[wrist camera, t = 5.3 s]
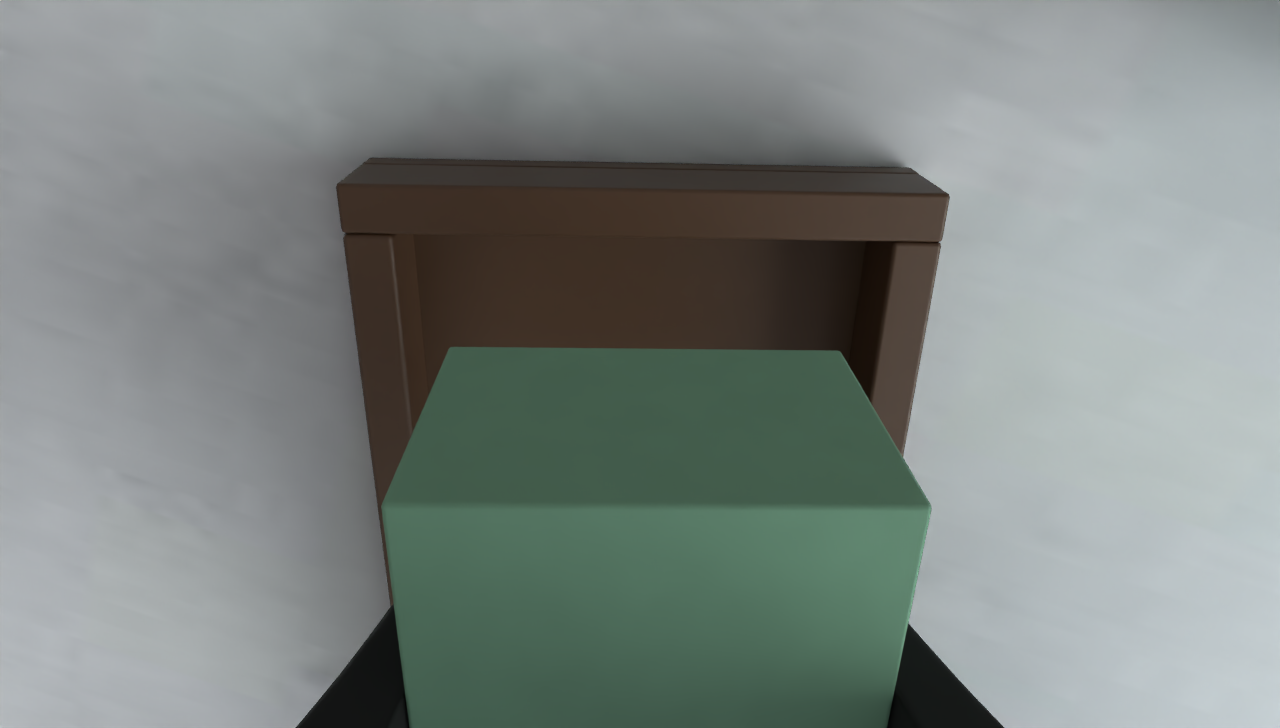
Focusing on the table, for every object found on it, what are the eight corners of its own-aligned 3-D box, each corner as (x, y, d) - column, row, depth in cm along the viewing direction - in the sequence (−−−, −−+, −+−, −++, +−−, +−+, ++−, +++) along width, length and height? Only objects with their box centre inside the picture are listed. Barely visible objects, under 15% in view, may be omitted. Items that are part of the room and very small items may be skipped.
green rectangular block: (785, 761, 14) (834, 993, 11) (481, 763, 14) (442, 1000, 11) (841, 349, 11) (934, 505, 8) (448, 344, 11) (378, 504, 8)
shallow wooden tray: (802, 854, 23) (818, 930, 21) (446, 858, 23) (431, 935, 21) (911, 167, 15) (951, 194, 13) (368, 157, 15) (334, 184, 13)
